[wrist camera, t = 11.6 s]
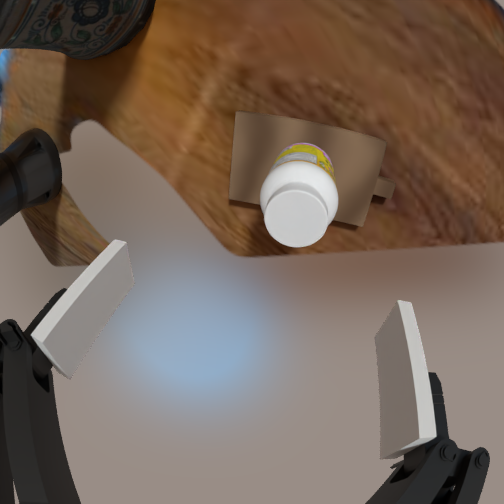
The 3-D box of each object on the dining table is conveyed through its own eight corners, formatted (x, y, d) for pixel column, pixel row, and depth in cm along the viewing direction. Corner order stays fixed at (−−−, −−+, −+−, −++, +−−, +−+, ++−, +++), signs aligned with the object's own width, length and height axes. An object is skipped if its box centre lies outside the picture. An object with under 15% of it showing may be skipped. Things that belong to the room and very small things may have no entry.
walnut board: (232, 194, 35) (228, 198, 34) (239, 110, 29) (235, 111, 28) (377, 225, 33) (379, 231, 32) (402, 145, 27) (406, 148, 26)
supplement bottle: (331, 198, 31) (335, 263, 21) (275, 194, 33) (252, 255, 22) (334, 142, 27) (346, 181, 17) (274, 139, 29) (248, 175, 18)
